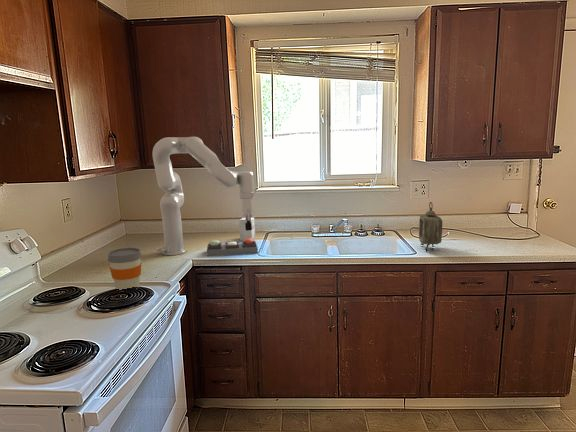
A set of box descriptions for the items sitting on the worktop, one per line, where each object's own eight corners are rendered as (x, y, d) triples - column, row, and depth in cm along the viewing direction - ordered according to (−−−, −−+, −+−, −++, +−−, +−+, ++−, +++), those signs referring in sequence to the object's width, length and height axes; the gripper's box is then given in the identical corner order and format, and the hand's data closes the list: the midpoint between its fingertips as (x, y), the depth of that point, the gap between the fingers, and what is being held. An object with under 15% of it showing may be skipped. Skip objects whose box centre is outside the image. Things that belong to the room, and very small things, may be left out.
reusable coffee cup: (133, 293, 159) (130, 256, 156) (104, 292, 161) (100, 255, 158) (149, 282, 171) (146, 248, 168) (122, 281, 173) (119, 247, 171)
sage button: (209, 246, 209) (209, 242, 209) (209, 244, 214) (209, 240, 214) (219, 246, 210) (219, 242, 210) (219, 243, 215) (219, 239, 215)
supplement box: (251, 241, 236) (251, 219, 234) (239, 240, 238) (238, 219, 235) (255, 238, 243) (254, 217, 241) (243, 237, 245) (242, 217, 243)
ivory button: (227, 248, 211) (227, 244, 211) (227, 245, 216) (227, 241, 216) (237, 247, 212) (236, 243, 212) (236, 244, 217) (236, 241, 216)
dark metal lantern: (418, 245, 221) (420, 199, 216) (435, 245, 219) (438, 199, 215) (422, 252, 207) (425, 204, 202) (441, 253, 205) (444, 204, 201)
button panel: (207, 256, 208) (206, 247, 207) (207, 250, 217) (207, 242, 216) (257, 252, 212) (257, 244, 211) (256, 247, 221) (255, 239, 221)
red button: (244, 244, 212) (244, 240, 212) (244, 242, 217) (244, 238, 217) (254, 243, 213) (254, 240, 213) (253, 241, 218) (253, 237, 218)
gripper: (239, 194, 217) (240, 227, 220) (240, 197, 202) (242, 233, 206) (253, 193, 218) (254, 226, 222) (255, 197, 204) (257, 232, 207)
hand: (248, 229), depth 214 cm, fingers closed
